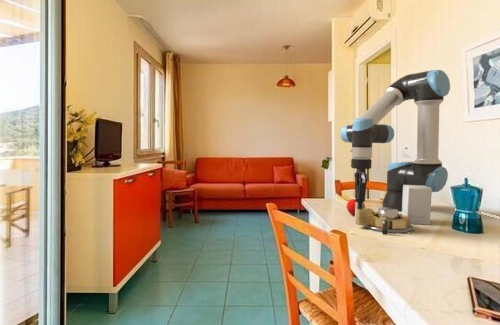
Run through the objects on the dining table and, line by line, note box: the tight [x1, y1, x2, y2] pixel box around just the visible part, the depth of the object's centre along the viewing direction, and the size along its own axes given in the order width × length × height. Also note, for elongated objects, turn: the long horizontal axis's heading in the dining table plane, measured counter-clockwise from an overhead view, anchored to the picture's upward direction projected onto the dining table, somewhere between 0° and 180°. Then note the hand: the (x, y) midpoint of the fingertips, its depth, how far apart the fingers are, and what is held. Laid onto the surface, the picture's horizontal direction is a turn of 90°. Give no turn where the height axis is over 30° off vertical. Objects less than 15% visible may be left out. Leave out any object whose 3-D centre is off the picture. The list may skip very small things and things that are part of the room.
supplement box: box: [401, 185, 433, 226], centre depth 136 cm, size 9×9×15 cm
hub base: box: [362, 207, 414, 236], centre depth 127 cm, size 20×18×7 cm
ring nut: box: [355, 207, 411, 229], centre depth 127 cm, size 20×15×6 cm
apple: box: [346, 198, 366, 217], centre depth 147 cm, size 8×8×7 cm
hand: (359, 217), depth 130 cm, fingers closed
